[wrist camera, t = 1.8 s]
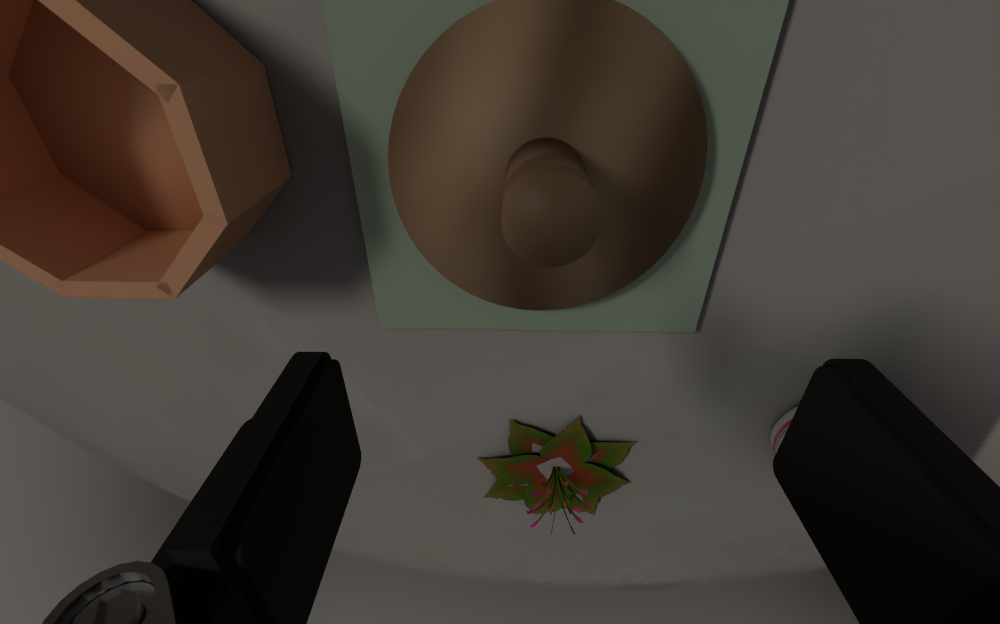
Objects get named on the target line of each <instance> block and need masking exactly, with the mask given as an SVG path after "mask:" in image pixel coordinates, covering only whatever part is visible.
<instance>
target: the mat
mask: <svg viewBox="0 0 1000 624" xmlns="http://www.w3.org/2000/svg"><path fill="white" fill-rule="evenodd" d="M492 1H494V0H321V3H322V9H323V14H324V20H325V25H326V31H327V36H328V42H329V48H330V53H331V59H332V64H333V70H334V75H335V81H336V86H337V92H338V98H339V103H340V109H341V114H342V120H343V125H344V131H345V137H346V142H347V148H348V153H349V159H350V164H351V170H352V175H353V181H354V187H355V192H356V198H357V203H358V209H359V214H360V220H361V226H362V231H363V237H364V242H365V248H366V253H367V259H368V264H369V270H370V276H371V281H372V287H373V292H374V298H375V303H376V309H377V314H378V320H379V326H380V328H433V329H496V330H559V331H622V332H685V333H695V330H696V327H697V323H698V320H699V316H700V313H701V309H702V306H703V302H704V299H705V295H706V292H707V288H708V285H709V281H710V278H711V274H712V271H713V267H714V264H715V260H716V256H717V253H718V249H719V246H720V242H721V239H722V235H723V232H724V228H725V225H726V221H727V218H728V214H729V211H730V207H731V204H732V200H733V197H734V193H735V190H736V186H737V183H738V179H739V175H740V172H741V168H742V165H743V161H744V158H745V154H746V151H747V147H748V144H749V140H750V137H751V133H752V130H753V126H754V123H755V119H756V116H757V112H758V109H759V105H760V102H761V98H762V95H763V91H764V87H765V84H766V80H767V77H768V73H769V70H770V66H771V63H772V59H773V56H774V52H775V49H776V45H777V42H778V38H779V35H780V31H781V28H782V24H783V21H784V17H785V14H786V10H787V6H788V3H789V0H615V1H617V2H619V3H622V4H624V5H626V6H628V7H630V8H631V9H633V10H634V11H636V12H638V13H639V14H641V15H642V16H644V17H646V18H647V19H648V20H649V21H650V22H652V23H653V24H654V25H655V26H656V27H657V28H658V29H660V30H661V31H662V32H663V33H664V34H665V35H666V36H667V37H668V39H669V40H670V41H671V42H672V43H673V45H674V46H675V47H676V48H677V50H678V51H679V52H680V54H681V55H682V57H683V59H684V60H685V62H686V64H687V65H688V67H689V69H690V70H691V72H692V75H693V77H694V79H695V82H696V84H697V87H698V89H699V92H700V95H701V99H702V103H703V107H704V111H705V115H706V126H707V136H708V141H707V161H706V167H705V173H704V179H703V182H702V186H701V189H700V192H699V196H698V199H697V201H696V204H695V206H694V208H693V211H692V213H691V215H690V217H689V219H688V221H687V223H686V224H685V226H684V228H683V229H682V231H681V233H680V234H679V236H678V237H677V239H676V240H675V241H674V243H673V244H672V245H671V247H670V248H669V249H668V251H667V252H666V253H665V254H664V255H663V256H662V257H661V258H660V259H659V260H658V261H657V262H656V263H655V264H654V265H653V266H652V267H651V268H650V269H649V270H647V271H646V272H645V273H644V274H643V275H641V276H640V277H639V278H637V279H636V280H634V281H633V282H631V283H630V284H628V285H627V286H625V287H624V288H622V289H620V290H618V291H616V292H614V293H612V294H610V295H609V296H606V297H604V298H601V299H599V300H596V301H593V302H591V303H587V304H584V305H580V306H576V307H572V308H565V309H559V310H543V311H536V310H521V309H515V308H510V307H504V306H501V305H498V304H494V303H491V302H488V301H485V300H483V299H481V298H478V297H476V296H473V295H471V294H470V293H468V292H466V291H464V290H463V289H461V288H459V287H457V286H456V285H454V284H453V283H452V282H450V281H449V280H448V279H446V278H445V277H444V276H442V275H441V274H440V273H439V272H438V271H437V270H436V269H435V268H434V267H433V266H432V265H431V264H429V262H428V261H427V260H426V259H425V258H424V256H423V255H422V254H421V253H420V252H419V250H418V249H417V248H416V246H415V244H414V243H413V241H412V240H411V238H410V237H409V235H408V234H407V231H406V229H405V227H404V225H403V223H402V221H401V219H400V217H399V214H398V211H397V208H396V205H395V202H394V199H393V195H392V190H391V185H390V181H389V170H388V144H389V134H390V128H391V123H392V118H393V114H394V111H395V108H396V105H397V102H398V99H399V96H400V93H401V91H402V89H403V87H404V85H405V83H406V81H407V79H408V77H409V75H410V73H411V71H412V70H413V68H414V67H415V65H416V64H417V62H418V61H419V60H420V58H421V57H422V55H423V54H424V52H425V51H426V50H427V49H428V48H429V47H430V46H431V45H432V44H433V42H434V41H435V40H436V39H437V38H438V37H439V36H440V35H441V34H442V33H443V32H444V31H446V30H447V29H448V28H449V27H450V26H452V25H453V24H454V23H455V22H457V21H458V20H459V19H460V18H462V17H464V16H465V15H467V14H469V13H470V12H472V11H474V10H475V9H477V8H479V7H480V6H482V5H485V4H487V3H490V2H492Z"/></svg>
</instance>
